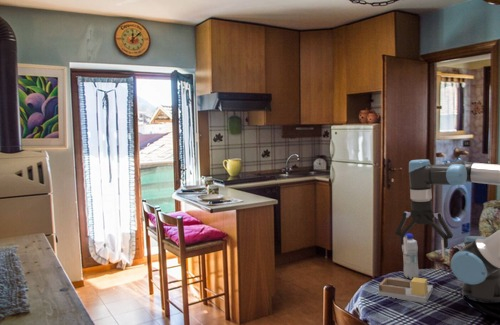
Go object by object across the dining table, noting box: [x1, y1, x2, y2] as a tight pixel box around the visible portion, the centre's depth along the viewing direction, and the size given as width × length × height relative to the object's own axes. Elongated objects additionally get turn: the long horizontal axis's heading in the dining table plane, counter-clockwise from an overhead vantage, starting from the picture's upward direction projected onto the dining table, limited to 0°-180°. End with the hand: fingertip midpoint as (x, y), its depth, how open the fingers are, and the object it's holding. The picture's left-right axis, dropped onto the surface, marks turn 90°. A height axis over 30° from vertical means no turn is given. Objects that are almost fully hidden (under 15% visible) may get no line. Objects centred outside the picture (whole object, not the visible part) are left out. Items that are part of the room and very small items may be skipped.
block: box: [410, 277, 428, 296], centre depth 155 cm, size 5×5×5 cm
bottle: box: [401, 232, 420, 280], centre depth 177 cm, size 7×7×20 cm
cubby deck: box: [377, 277, 434, 304], centre depth 161 cm, size 18×14×4 cm
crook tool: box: [388, 276, 410, 281], centre depth 167 cm, size 8×4×2 cm, turn 55°
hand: (424, 254), depth 153 cm, fingers open, 13 cm apart
